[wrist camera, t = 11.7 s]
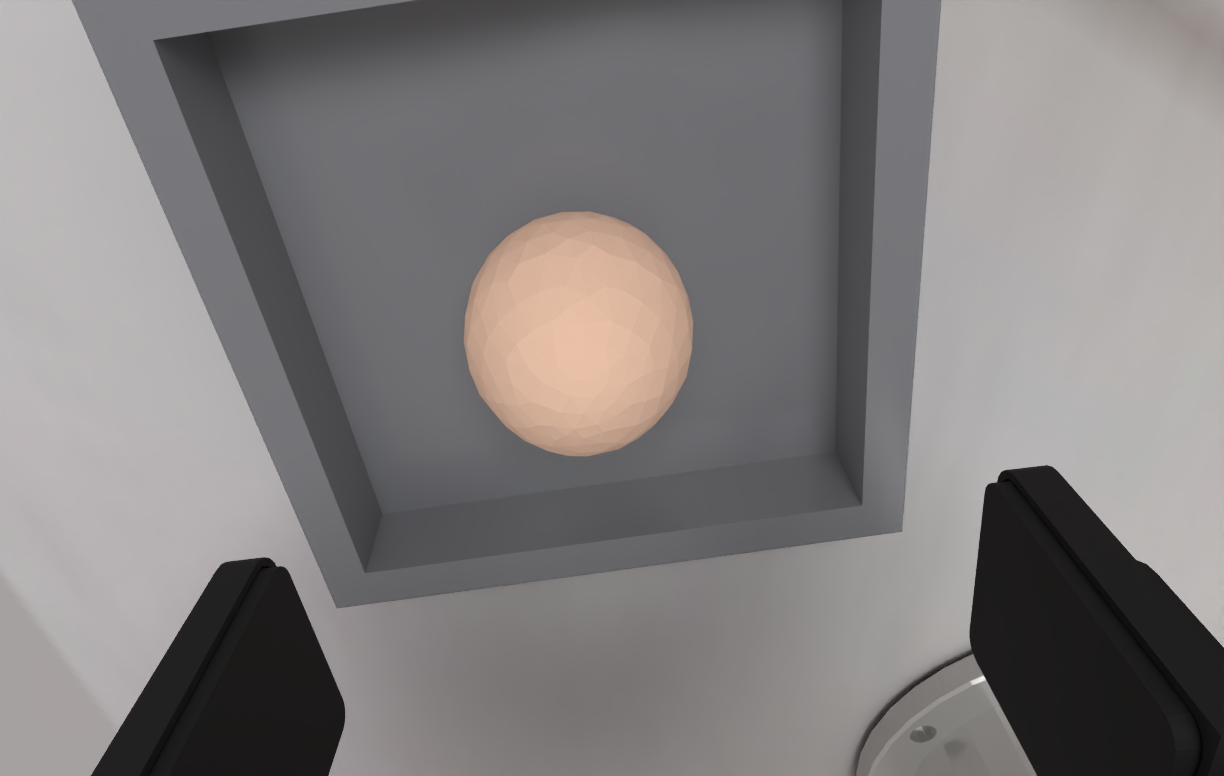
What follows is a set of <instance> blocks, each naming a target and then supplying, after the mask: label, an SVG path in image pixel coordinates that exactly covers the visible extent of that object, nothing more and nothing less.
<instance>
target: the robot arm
mask: <svg viewBox="0 0 1224 776" xmlns="http://www.w3.org/2000/svg"><path fill="white" fill-rule="evenodd" d="M970 643H971V648H972V652H973V654H971V655H969V656H967V657H965V658H963V659H961V660H959V661H957V662H955V663H953V664H951V665H949V666H947V667H945V668H943V669H941V670H940V671H938V672H937V673H935V674H933V675H932V676H930V677H929V678H927V679H926V680H924V681H923V682H921V683H920V684H918V685H917V686H915V687H914V688H913V689H911V690H910V691H909V692H908V693H907V694H906V695H905V696H903V697H902V698H901V699H900V700H899V701H898V702H897V703H895V704H894V705H893V706H892V707H891V708H890V709H889V710H888V712H887V713H886V714H885V715H884V717H883V718H882V719H881V720H880V721H879V723H878V724H877V725H876V726H875V728H874V729H873V730H872V731H871V733H870V735H869V737H868V739H867V741H866V743H865V745H864V747H863V749H862V751H861V753H860V757H859V762H858V767H857V771H856V776H1224V648H1223V646H1222V645H1221V644H1220V643H1219V642H1218V641H1217V640H1216V639H1215V638H1214V636H1213V635H1212V634H1211V633H1210V632H1209V631H1208V630H1207V629H1206V628H1205V626H1204V625H1203V624H1202V623H1201V622H1200V621H1199V620H1198V619H1197V617H1196V616H1195V615H1194V614H1193V613H1192V612H1191V611H1190V610H1189V609H1188V607H1187V606H1186V605H1185V604H1184V603H1183V602H1182V601H1181V600H1180V599H1179V597H1178V596H1177V595H1176V594H1175V593H1174V592H1173V591H1172V590H1171V589H1170V587H1169V586H1168V585H1167V584H1166V583H1165V582H1164V581H1163V580H1162V578H1161V577H1160V576H1159V575H1158V574H1157V573H1156V572H1155V571H1154V570H1152V569H1151V568H1150V567H1149V566H1148V565H1147V564H1145V563H1142V562H1140V561H1137V560H1136V559H1135V558H1134V557H1133V556H1132V555H1131V554H1130V553H1129V552H1128V550H1127V549H1126V548H1125V547H1124V546H1123V545H1122V544H1121V542H1120V541H1119V540H1118V539H1117V538H1116V537H1115V536H1114V535H1113V533H1112V532H1111V531H1110V530H1109V529H1108V528H1107V527H1106V525H1105V524H1104V523H1103V522H1102V521H1101V520H1100V519H1099V518H1098V516H1097V515H1096V514H1095V513H1094V512H1093V511H1092V510H1091V508H1090V507H1089V506H1088V505H1087V504H1086V503H1085V502H1084V501H1083V499H1082V498H1081V497H1080V496H1079V495H1078V494H1077V493H1076V492H1075V490H1074V489H1073V488H1072V487H1071V486H1070V485H1069V484H1068V482H1067V481H1066V480H1065V479H1064V478H1063V477H1062V476H1061V475H1060V473H1059V472H1058V471H1057V470H1056V469H1054V468H1053V467H1051V466H1048V465H1046V466H1037V467H1029V468H1020V469H1012V470H1005V471H1003V472H1001V473H1000V475H999V477H998V481H997V483H990V484H988V485H987V487H986V490H985V495H984V504H983V513H982V523H981V532H980V541H979V550H978V559H977V568H976V578H975V587H974V596H973V605H972V614H971V623H970ZM344 723H345V706H344V702H343V698H342V696H341V694H340V691H339V689H338V687H337V684H336V682H335V680H334V677H333V675H332V673H331V670H330V668H329V666H328V663H327V661H326V658H325V656H324V654H323V651H322V649H321V647H320V644H319V642H318V640H317V637H316V635H315V633H314V630H313V628H312V626H311V623H310V621H309V618H308V616H307V614H306V611H305V609H304V607H303V604H302V602H301V600H300V597H299V595H298V593H297V590H296V588H295V586H294V583H293V581H292V579H291V576H290V574H289V572H288V570H287V569H286V568H284V567H281V566H280V567H277V566H276V565H275V563H274V562H273V561H272V560H271V559H270V558H265V557H264V558H256V559H247V560H239V561H230V562H225V563H223V564H221V565H220V567H219V568H218V569H217V570H216V572H215V573H214V575H213V577H212V578H211V580H210V582H209V583H208V585H207V587H206V588H205V590H204V591H203V593H202V595H201V596H200V598H199V600H198V601H197V603H196V605H195V606H194V608H193V609H192V611H191V613H190V614H189V616H188V618H187V619H186V621H185V623H184V624H183V626H182V628H181V629H180V631H179V632H178V634H177V636H176V637H175V639H174V641H173V642H172V644H171V646H170V647H169V649H168V650H167V652H166V654H165V655H164V657H163V659H162V660H161V662H160V664H159V665H158V667H157V668H156V670H155V672H154V673H153V675H152V677H151V678H150V680H149V682H148V683H147V685H146V686H145V688H144V690H143V691H142V693H141V695H140V696H139V698H138V700H137V701H136V703H135V704H134V706H133V708H132V709H131V711H130V713H129V714H128V716H127V718H126V719H125V721H124V722H123V724H122V726H121V727H120V729H119V731H118V732H117V734H116V736H115V737H114V739H113V740H112V742H111V744H110V745H109V747H108V749H107V750H106V752H105V754H104V756H103V757H102V759H101V760H100V762H99V764H98V765H97V767H96V768H95V770H94V772H93V773H92V775H91V776H328V775H329V772H330V769H331V765H332V762H333V759H334V756H335V753H336V750H337V747H338V744H339V741H340V738H341V735H342V731H343V728H344Z"/></svg>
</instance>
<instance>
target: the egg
mask: <svg viewBox="0 0 1224 776" xmlns="http://www.w3.org/2000/svg"><path fill="white" fill-rule="evenodd" d="M692 340H693V319H692V313H691V308H690V303H689V298H688V295H687V292H686V290H685V288H684V285H683V283H682V280H681V278H680V275H679V273H678V271H677V269H676V268H675V266H674V265H673V263H672V262H671V260H670V259H669V257H668V256H667V254H666V253H665V252H664V251H663V250H662V249H661V248H660V247H659V246H658V245H657V244H656V243H655V242H654V241H653V240H652V239H651V238H650V237H649V236H647V235H646V234H645V233H644V232H642V231H641V230H639V229H637V228H636V227H634V226H633V225H631V224H629V223H627V222H624V221H622V220H619V219H616V218H614V217H611V216H606V215H602V214H598V213H594V212H590V211H586V212H560V213H556V214H552V215H549V216H545V217H542V218H538V219H535V220H533V221H531V222H529V223H528V224H526V225H524V226H523V227H521V228H519V229H518V230H516V231H514V232H513V233H511V234H509V235H508V236H507V237H506V238H505V239H504V240H503V241H502V242H501V243H500V244H499V245H498V246H497V247H496V248H495V249H494V250H493V251H492V252H491V253H490V254H489V256H488V257H487V259H486V261H485V262H484V264H483V266H482V267H481V269H480V271H479V272H478V274H477V276H476V277H475V279H474V282H473V284H472V287H471V292H470V296H469V300H468V305H467V309H466V314H465V327H464V345H465V351H466V356H467V361H468V366H469V371H470V373H471V375H472V378H473V380H474V383H475V385H476V387H477V390H478V392H479V394H480V396H481V397H482V398H483V400H484V401H485V402H486V403H487V405H488V406H489V407H490V409H491V410H492V411H493V412H494V413H495V415H496V416H497V417H498V418H499V419H500V420H501V422H502V423H503V424H504V425H505V426H506V427H507V428H508V429H509V430H511V431H512V432H513V433H515V434H516V435H517V436H519V437H520V438H521V439H523V440H524V441H526V442H528V443H530V444H533V445H535V446H537V447H539V448H542V449H544V450H546V451H549V452H553V453H557V454H561V455H566V456H592V455H596V454H601V453H605V452H609V451H613V450H618V449H620V448H622V447H624V446H626V445H627V444H629V443H631V442H633V441H634V440H636V439H638V438H640V437H641V436H642V435H643V434H644V433H646V432H647V431H648V430H649V429H651V428H652V427H653V426H654V425H655V424H656V423H657V422H658V420H659V419H660V418H661V417H662V416H663V415H664V413H665V412H666V411H667V410H668V408H669V407H670V406H671V405H672V403H673V401H674V400H675V398H676V396H677V394H678V392H679V390H680V388H681V386H682V384H683V382H684V381H685V379H686V377H687V372H688V367H689V362H690V357H691V352H692Z"/></svg>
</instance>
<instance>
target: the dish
mask: <svg viewBox="0 0 1224 776" xmlns="http://www.w3.org/2000/svg"><path fill="white" fill-rule="evenodd" d="M72 2H73V4H74V6H75V9H76V11H77V13H78V15H79V18H80V20H81V22H82V25H83V27H84V29H85V31H86V34H87V36H88V38H89V41H90V43H91V45H92V48H93V50H94V52H95V54H96V57H97V59H98V61H99V64H100V66H101V68H102V70H103V73H104V75H105V77H106V80H107V82H108V84H109V86H110V89H111V91H112V93H113V96H114V98H115V100H116V103H117V105H118V107H119V109H120V112H121V114H122V116H123V119H124V121H125V123H126V125H127V128H128V130H129V132H130V135H131V137H132V139H133V142H134V144H135V146H136V148H137V151H138V153H139V155H140V158H141V160H142V162H143V164H144V167H145V169H146V171H147V174H148V176H149V178H150V181H151V183H152V185H153V187H154V190H155V192H156V194H157V197H158V199H159V201H160V203H161V206H162V208H163V210H164V213H165V215H166V217H167V220H168V222H169V224H170V226H171V229H172V231H173V233H174V236H175V238H176V240H177V242H178V245H179V247H180V249H181V252H182V254H183V256H184V259H185V261H186V263H187V265H188V268H189V270H190V272H191V275H192V277H193V279H194V281H195V284H196V286H197V288H198V291H199V293H200V295H201V298H202V300H203V302H204V304H205V307H206V309H207V311H208V314H209V316H210V318H211V320H212V323H213V325H214V327H215V330H216V332H217V334H218V336H219V339H220V341H221V343H222V346H223V348H224V350H225V353H226V355H227V357H228V359H229V362H230V364H231V366H232V369H233V371H234V373H235V375H236V378H237V380H238V382H239V385H240V387H241V389H242V392H243V394H244V396H245V398H246V401H247V403H248V405H249V408H250V410H251V412H252V414H253V417H254V419H255V421H256V424H257V426H258V428H259V431H260V433H261V435H262V437H263V440H264V442H265V444H266V447H267V449H268V451H269V453H270V456H271V458H272V460H273V463H274V465H275V467H276V470H277V472H278V474H279V476H280V479H281V481H282V483H283V486H284V488H285V490H286V492H287V495H288V497H289V499H290V502H291V504H292V506H293V509H294V511H295V513H296V515H297V518H298V520H299V522H300V525H301V527H302V529H303V531H304V534H305V536H306V538H307V541H308V543H309V545H310V548H311V550H312V552H313V554H314V557H315V559H316V561H317V564H318V566H319V568H320V570H321V573H322V575H323V577H324V580H325V582H326V584H327V587H328V589H329V591H330V593H331V596H332V598H333V600H334V603H335V605H336V607H337V608H343V607H350V606H357V605H365V604H372V603H379V602H387V601H394V600H402V599H409V598H416V597H424V596H431V595H438V594H446V593H453V592H461V591H468V590H475V589H483V588H490V587H497V586H505V585H512V584H520V583H527V582H534V581H542V580H549V579H556V578H564V577H571V576H578V575H586V574H593V573H601V572H608V571H615V570H623V569H630V568H637V567H645V566H652V565H660V564H667V563H674V562H682V561H689V560H696V559H704V558H711V557H718V556H726V555H733V554H741V553H748V552H755V551H763V550H770V549H777V548H785V547H792V546H800V545H807V544H814V543H822V542H829V541H836V540H844V539H851V538H859V537H866V536H873V535H881V534H888V533H895V532H902V525H903V511H904V498H905V484H906V470H907V457H908V443H909V430H910V416H911V403H912V389H913V376H914V362H915V348H916V335H917V321H918V308H919V294H920V281H921V267H922V254H923V240H924V226H925V213H926V199H927V186H928V172H929V159H930V145H931V132H932V118H933V104H934V91H935V77H936V64H937V50H938V37H939V23H940V10H941V0H72ZM586 211H590V212H594V213H598V214H602V215H606V216H611V217H614V218H616V219H619V220H622V221H624V222H627V223H629V224H631V225H633V226H634V227H636V228H637V229H639V230H641V231H642V232H644V233H645V234H646V235H647V236H649V237H650V238H651V239H652V240H653V241H654V242H655V243H656V244H657V245H658V246H659V247H660V248H661V249H662V250H663V251H664V252H665V253H666V254H667V256H668V257H669V259H670V260H671V262H672V263H673V265H674V266H675V268H676V269H677V271H678V273H679V275H680V278H681V280H682V283H683V285H684V288H685V290H686V292H687V295H688V298H689V303H690V308H691V313H692V319H693V340H692V352H691V357H690V362H689V367H688V372H687V377H686V379H685V381H684V382H683V384H682V386H681V388H680V390H679V392H678V394H677V396H676V398H675V400H674V401H673V403H672V405H671V406H670V407H669V408H668V410H667V411H666V412H665V413H664V415H663V416H662V417H661V418H660V419H659V420H658V422H657V423H656V424H655V425H654V426H653V427H652V428H651V429H649V430H648V431H647V432H646V433H644V434H643V435H642V436H641V437H640V438H638V439H636V440H634V441H633V442H631V443H629V444H627V445H626V446H624V447H622V448H620V449H618V450H613V451H609V452H605V453H601V454H596V455H592V456H566V455H561V454H557V453H553V452H549V451H546V450H544V449H542V448H539V447H537V446H535V445H533V444H530V443H528V442H526V441H524V440H523V439H521V438H520V437H519V436H517V435H516V434H515V433H513V432H512V431H511V430H509V429H508V428H507V427H506V426H505V425H504V424H503V423H502V422H501V420H500V419H499V418H498V417H497V416H496V415H495V413H494V412H493V411H492V410H491V409H490V407H489V406H488V405H487V403H486V402H485V401H484V400H483V398H482V397H481V396H480V394H479V392H478V390H477V387H476V385H475V383H474V380H473V378H472V375H471V373H470V371H469V366H468V361H467V356H466V351H465V345H464V327H465V314H466V309H467V305H468V300H469V296H470V292H471V287H472V284H473V282H474V279H475V277H476V276H477V274H478V272H479V271H480V269H481V267H482V266H483V264H484V262H485V261H486V259H487V257H488V256H489V254H490V253H491V252H492V251H493V250H494V249H495V248H496V247H497V246H498V245H499V244H500V243H501V242H502V241H503V240H504V239H505V238H506V237H507V236H508V235H509V234H511V233H513V232H514V231H516V230H518V229H519V228H521V227H523V226H524V225H526V224H528V223H529V222H531V221H533V220H535V219H538V218H542V217H545V216H549V215H552V214H556V213H560V212H586Z"/></svg>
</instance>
